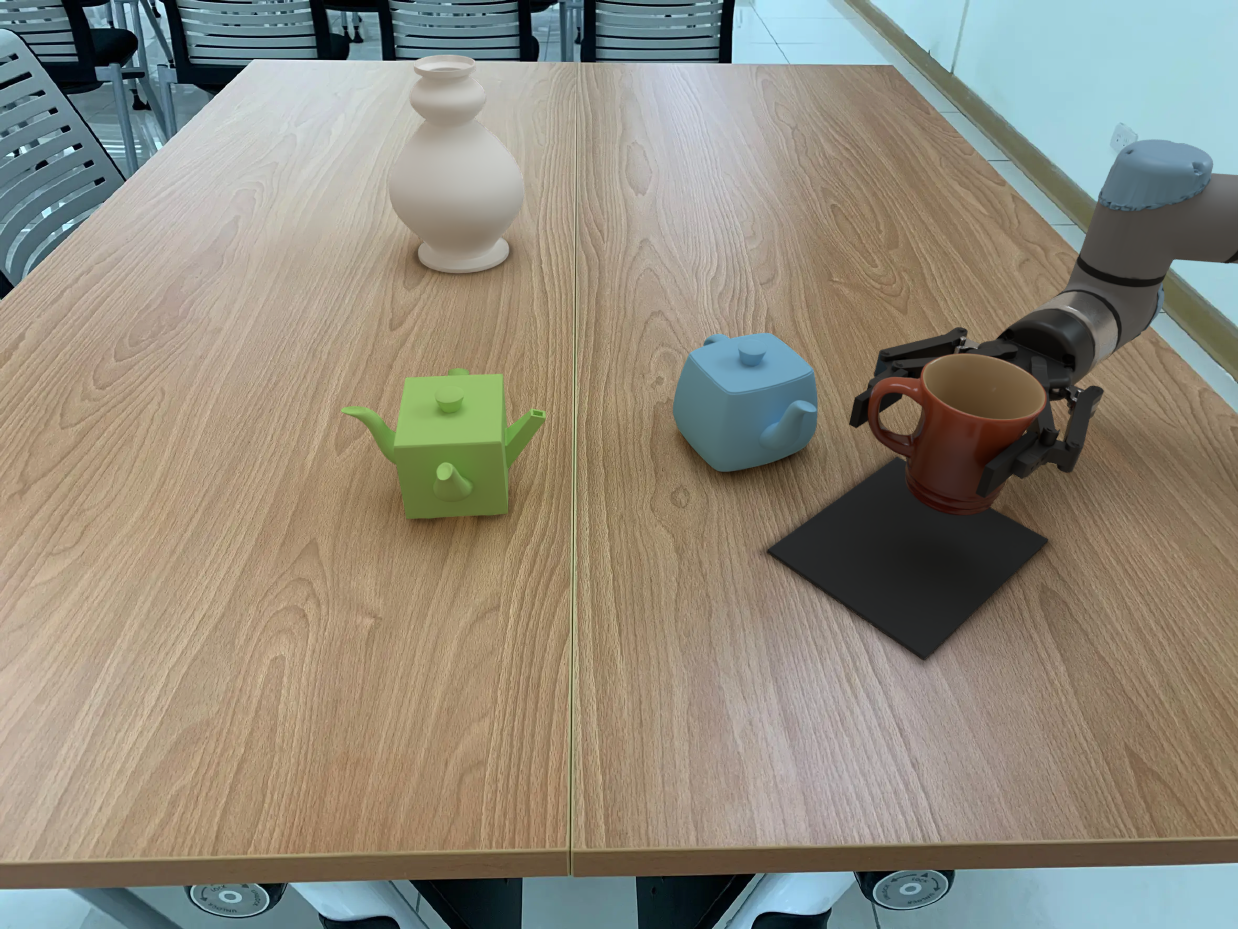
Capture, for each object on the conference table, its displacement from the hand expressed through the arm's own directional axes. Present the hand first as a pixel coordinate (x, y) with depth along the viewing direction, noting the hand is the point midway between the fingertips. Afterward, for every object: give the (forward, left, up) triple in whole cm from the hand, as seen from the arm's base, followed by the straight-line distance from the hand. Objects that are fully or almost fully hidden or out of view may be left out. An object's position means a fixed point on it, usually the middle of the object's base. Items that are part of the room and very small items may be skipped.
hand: (917, 446), depth 69 cm
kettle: (+33, +22, -14) cm, 42 cm away
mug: (0, -4, -7) cm, 8 cm away
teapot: (+19, -4, -14) cm, 24 cm away
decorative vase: (+75, -8, -14) cm, 77 cm away
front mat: (0, -4, -13) cm, 14 cm away
